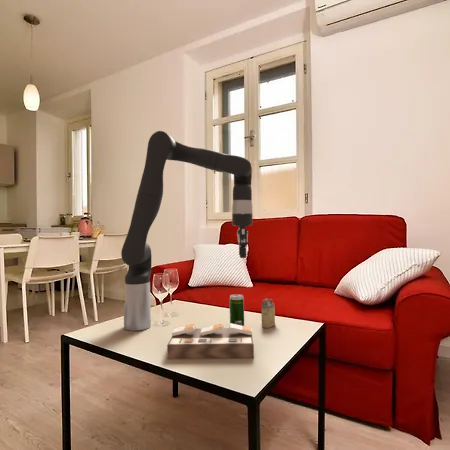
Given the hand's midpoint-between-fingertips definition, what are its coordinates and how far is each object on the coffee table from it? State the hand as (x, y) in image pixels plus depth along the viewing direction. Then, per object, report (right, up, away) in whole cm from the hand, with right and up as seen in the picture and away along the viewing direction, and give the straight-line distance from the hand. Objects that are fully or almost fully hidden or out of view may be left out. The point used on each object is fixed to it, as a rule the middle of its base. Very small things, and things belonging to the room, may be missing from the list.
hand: (242, 256), depth 114 cm
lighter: (+10, -27, +3) cm, 29 cm away
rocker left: (-20, -22, -16) cm, 33 cm away
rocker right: (-2, -21, -17) cm, 27 cm away
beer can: (-2, -27, +1) cm, 27 cm away
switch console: (-11, -27, -18) cm, 34 cm away
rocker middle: (-11, -21, -16) cm, 29 cm away
